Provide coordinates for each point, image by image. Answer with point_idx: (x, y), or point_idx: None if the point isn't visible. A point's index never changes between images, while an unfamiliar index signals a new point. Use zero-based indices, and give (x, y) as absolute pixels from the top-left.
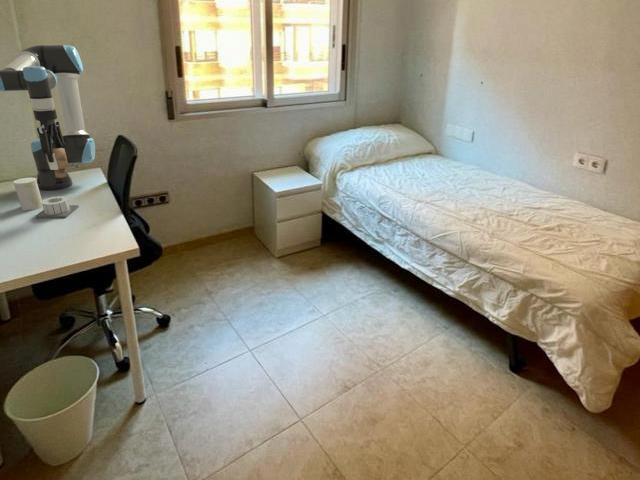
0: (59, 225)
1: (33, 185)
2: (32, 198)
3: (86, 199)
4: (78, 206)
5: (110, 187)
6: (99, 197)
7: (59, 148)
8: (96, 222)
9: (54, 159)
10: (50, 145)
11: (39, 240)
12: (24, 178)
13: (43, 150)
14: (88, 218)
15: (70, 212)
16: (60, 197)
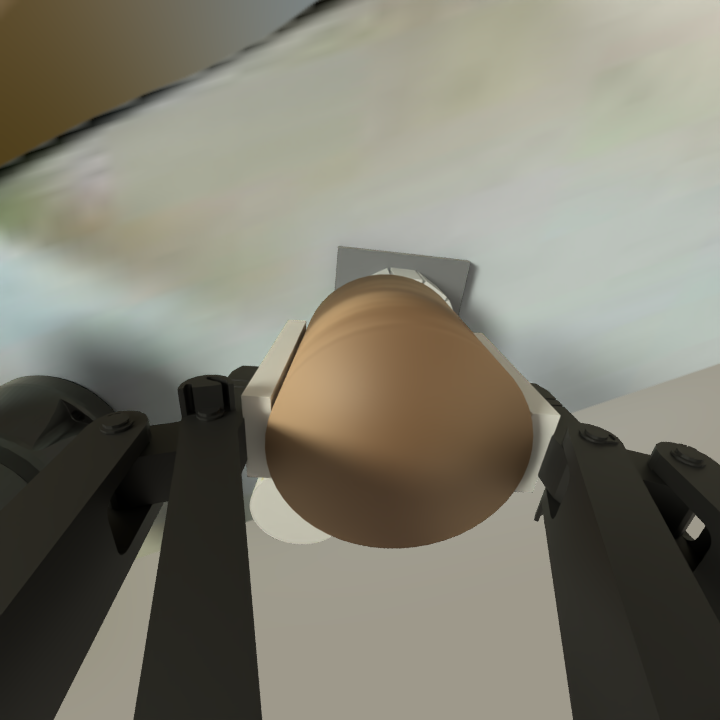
0: (551, 258)
1: None
2: None
3: (230, 242)
4: (339, 246)
5: (26, 163)
6: (198, 180)
7: (297, 427)
8: (574, 78)
9: (520, 382)
10: (667, 531)
11: (687, 282)
12: (265, 521)
13: (703, 542)
14: (502, 145)
15: (421, 256)
16: None
